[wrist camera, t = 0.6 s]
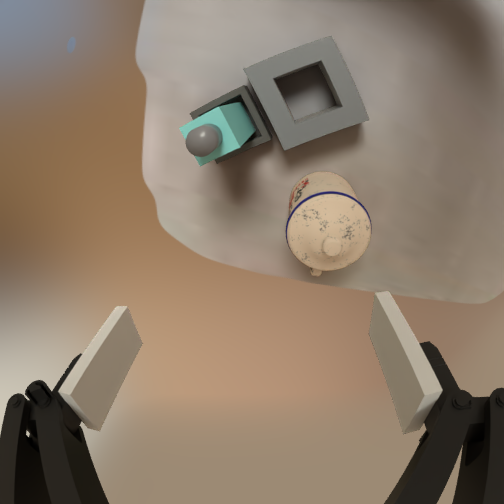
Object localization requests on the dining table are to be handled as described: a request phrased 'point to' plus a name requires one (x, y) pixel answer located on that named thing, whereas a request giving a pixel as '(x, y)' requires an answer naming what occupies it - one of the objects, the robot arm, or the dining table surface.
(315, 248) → the teacup with lid
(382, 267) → the dining table surface
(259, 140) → the frame
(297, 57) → the port panel
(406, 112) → the dining table surface
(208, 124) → the aqua plug
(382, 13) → the dining table surface
